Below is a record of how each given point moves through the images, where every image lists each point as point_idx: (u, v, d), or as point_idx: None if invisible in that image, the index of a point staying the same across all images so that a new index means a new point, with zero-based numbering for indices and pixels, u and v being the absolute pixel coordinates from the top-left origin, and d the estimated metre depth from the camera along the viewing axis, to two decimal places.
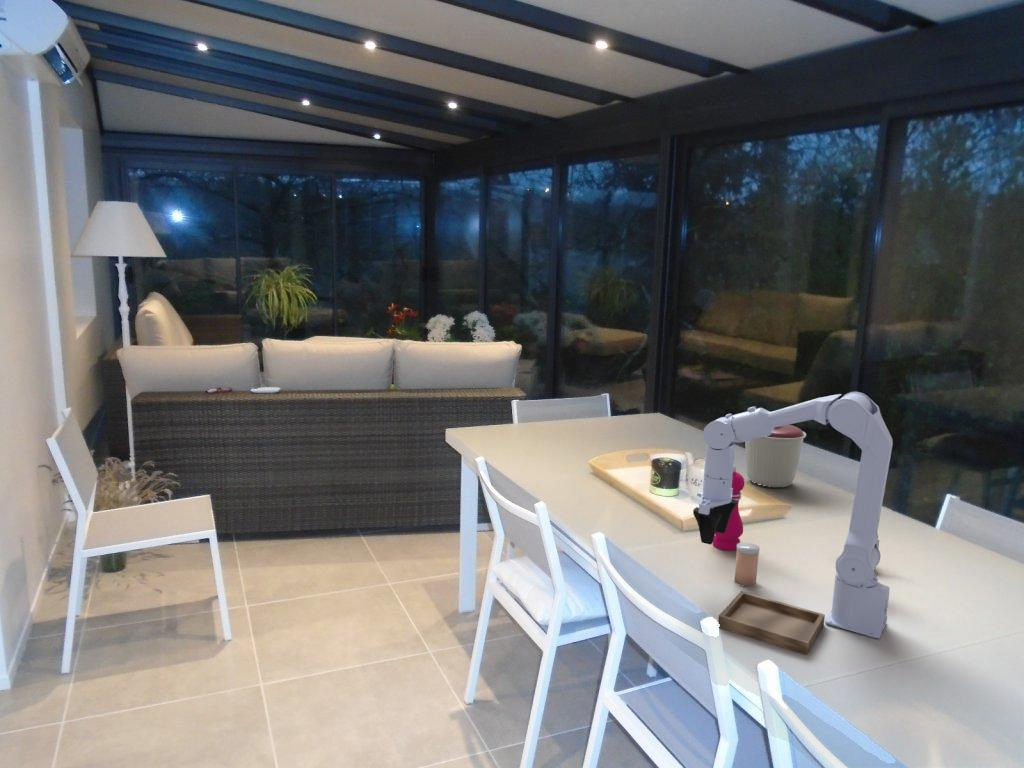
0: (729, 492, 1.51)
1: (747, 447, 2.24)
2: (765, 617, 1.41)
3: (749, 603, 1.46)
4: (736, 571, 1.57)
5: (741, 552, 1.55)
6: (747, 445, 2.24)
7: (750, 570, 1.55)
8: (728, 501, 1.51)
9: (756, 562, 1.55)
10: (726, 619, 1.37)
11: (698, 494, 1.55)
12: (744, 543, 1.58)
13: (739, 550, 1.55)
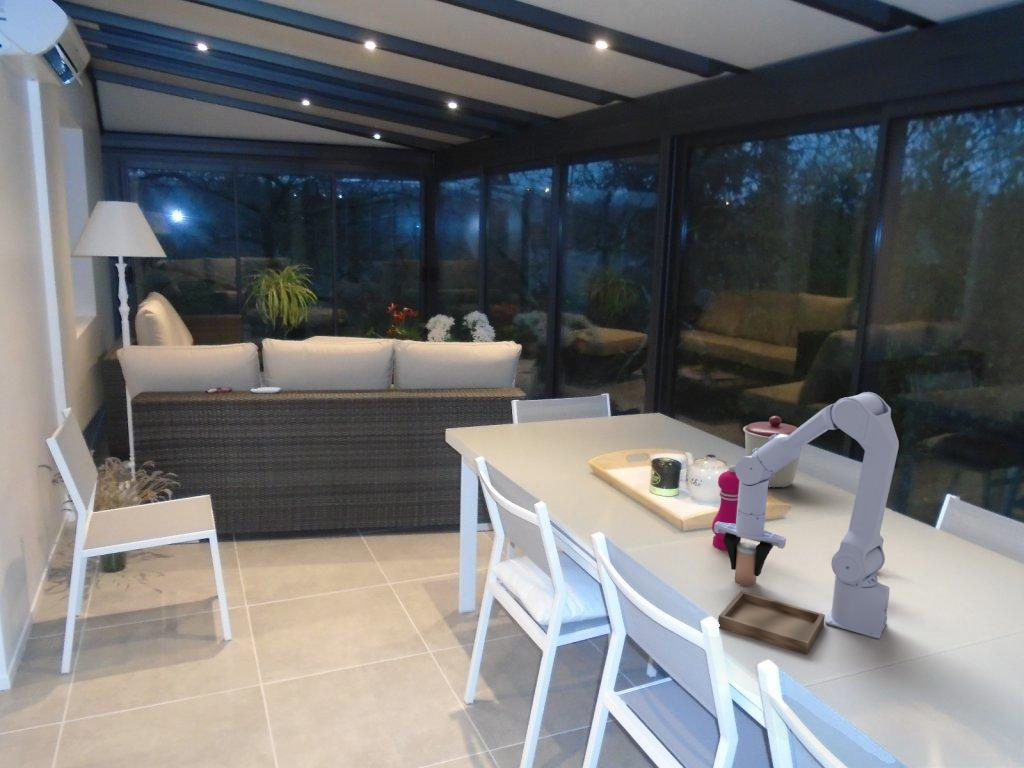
0: (743, 527, 1.53)
1: (747, 447, 2.24)
2: (765, 617, 1.41)
3: (749, 603, 1.46)
4: (736, 571, 1.57)
5: (741, 552, 1.55)
6: (747, 445, 2.24)
7: (750, 570, 1.55)
8: (740, 534, 1.54)
9: None
10: (726, 619, 1.37)
11: None
12: (744, 543, 1.58)
13: (739, 550, 1.55)
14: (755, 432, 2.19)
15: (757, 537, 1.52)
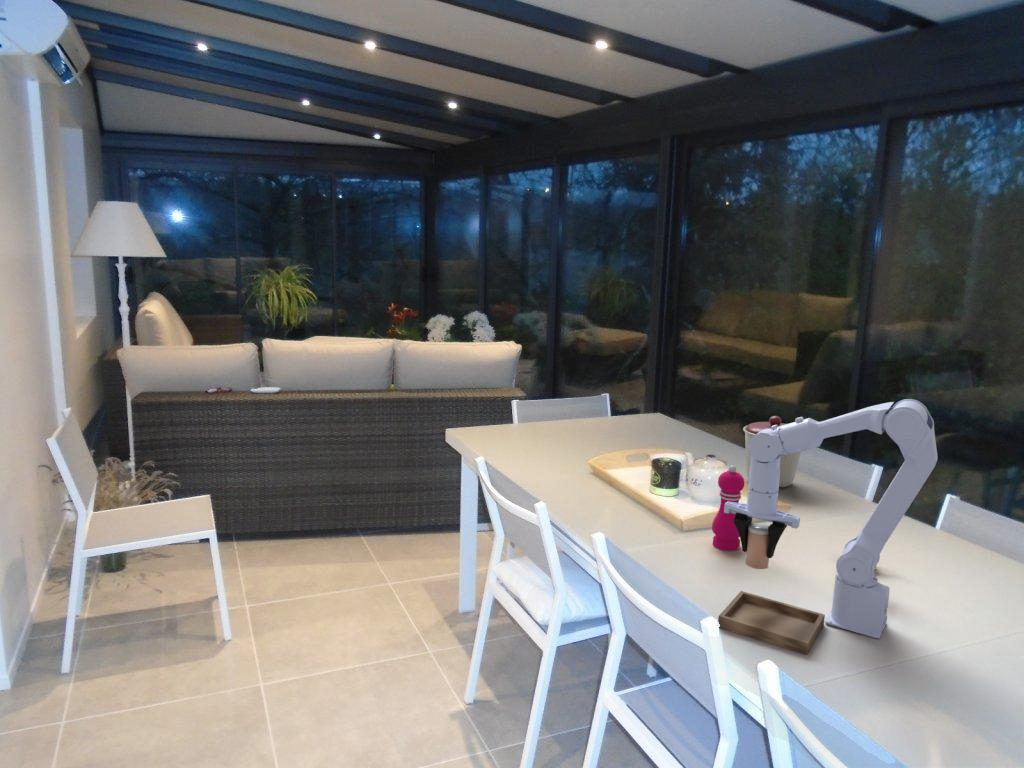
0: (755, 506, 1.45)
1: (747, 447, 2.24)
2: (765, 617, 1.41)
3: (749, 603, 1.46)
4: (747, 553, 1.49)
5: (753, 533, 1.47)
6: (747, 445, 2.24)
7: (763, 552, 1.47)
8: (751, 514, 1.46)
9: None
10: (726, 619, 1.37)
11: None
12: (755, 524, 1.50)
13: (751, 531, 1.48)
14: (755, 432, 2.19)
15: (769, 517, 1.44)
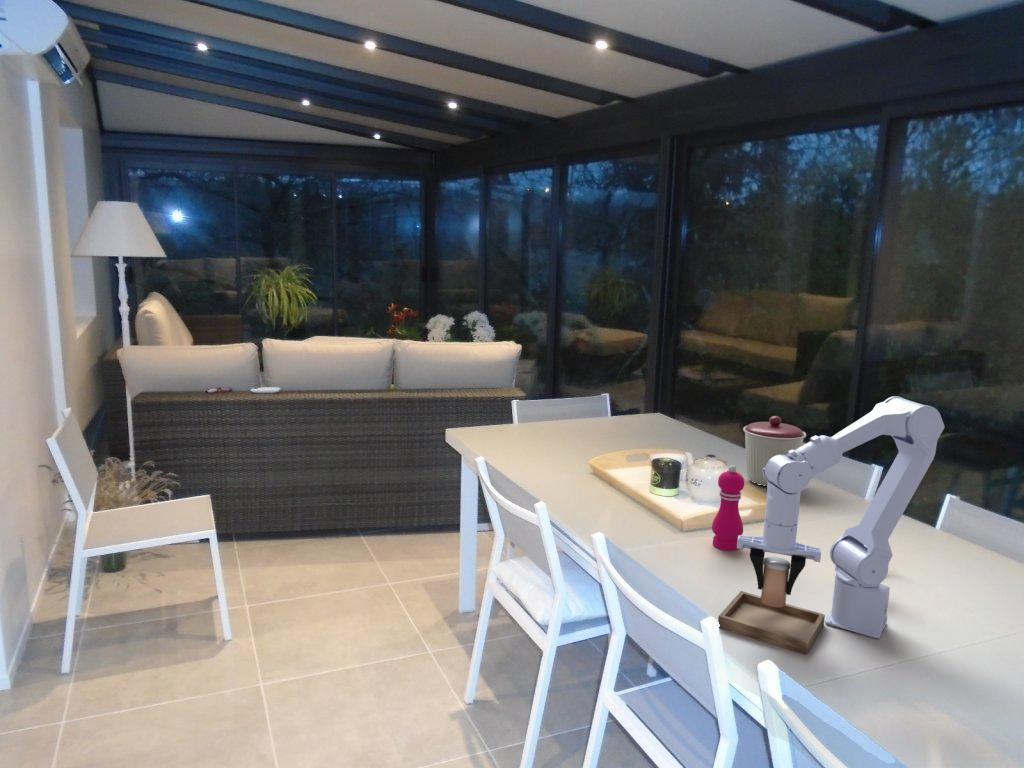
0: (776, 541, 1.33)
1: (747, 447, 2.24)
2: (765, 617, 1.41)
3: (749, 603, 1.46)
4: (765, 591, 1.37)
5: (773, 569, 1.35)
6: (747, 445, 2.24)
7: (783, 589, 1.36)
8: (772, 550, 1.34)
9: None
10: (726, 619, 1.37)
11: None
12: (770, 558, 1.38)
13: (770, 567, 1.36)
14: (755, 432, 2.19)
15: (792, 551, 1.33)
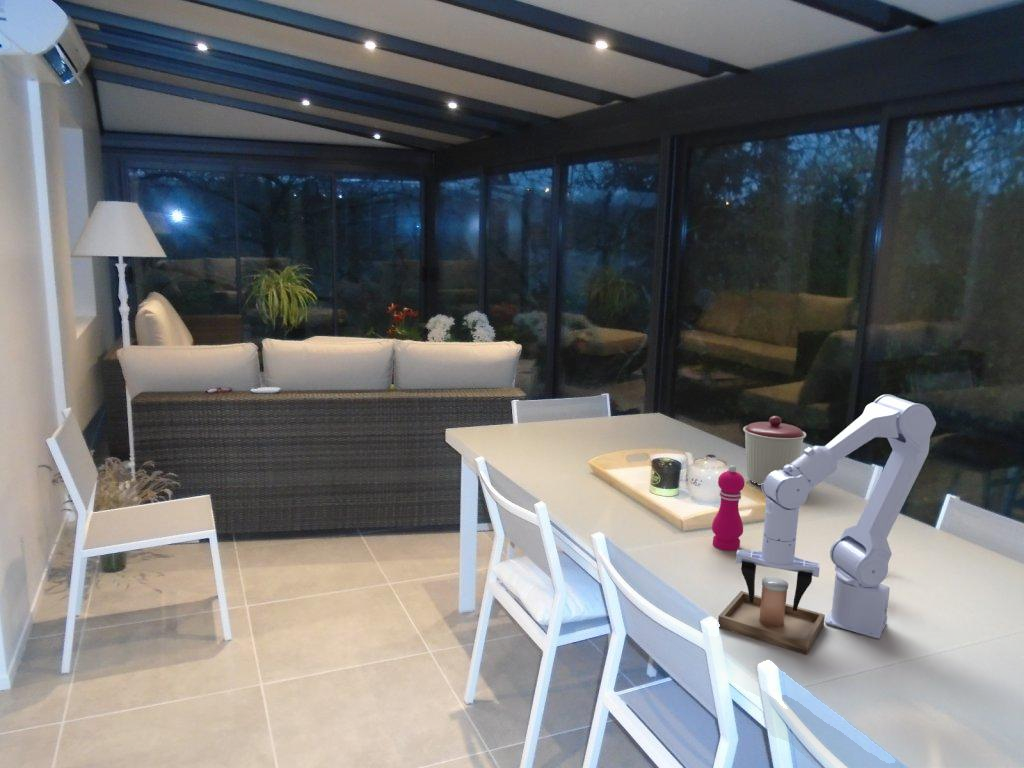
0: (774, 556, 1.34)
1: (747, 447, 2.24)
2: None
3: (749, 603, 1.46)
4: (764, 611, 1.38)
5: (771, 590, 1.36)
6: (747, 445, 2.24)
7: (781, 609, 1.36)
8: (770, 565, 1.34)
9: None
10: (726, 619, 1.37)
11: None
12: (768, 578, 1.39)
13: (768, 588, 1.36)
14: (755, 432, 2.19)
15: (790, 566, 1.34)
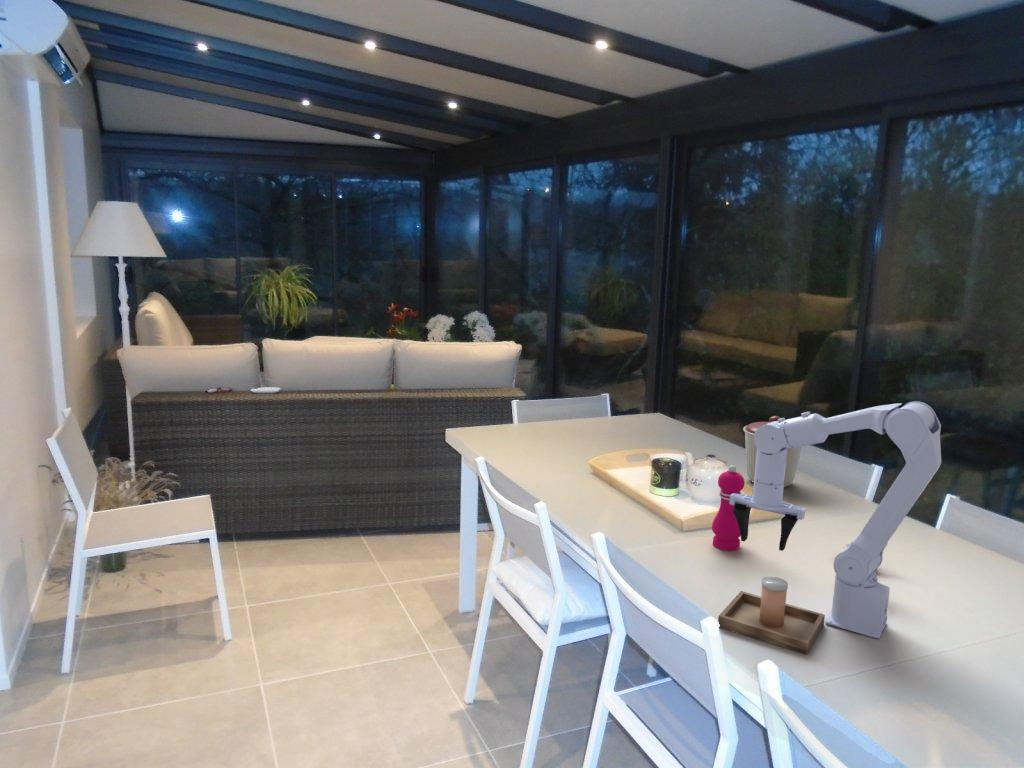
0: (761, 497, 1.47)
1: (747, 447, 2.24)
2: None
3: (749, 603, 1.46)
4: (764, 611, 1.38)
5: (771, 590, 1.36)
6: (747, 445, 2.24)
7: (781, 609, 1.36)
8: (757, 506, 1.48)
9: None
10: (726, 619, 1.37)
11: None
12: (767, 578, 1.39)
13: (768, 588, 1.36)
14: None
15: (775, 508, 1.46)
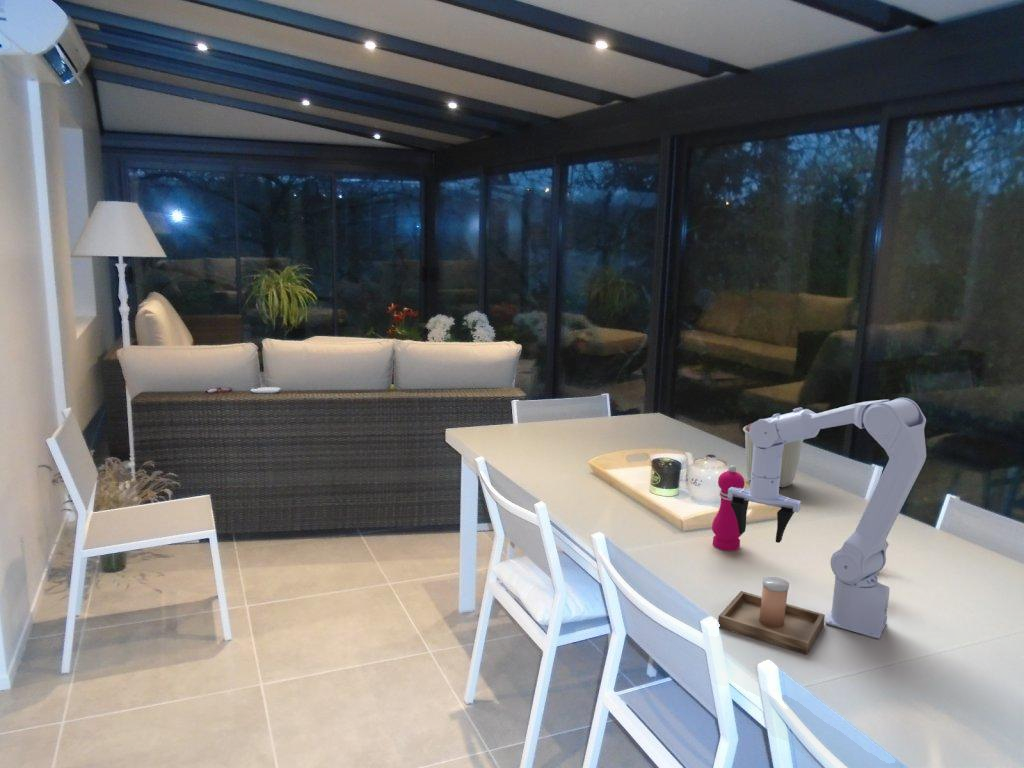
0: (758, 491, 1.51)
1: (747, 447, 2.24)
2: None
3: (749, 603, 1.46)
4: (764, 611, 1.38)
5: (772, 590, 1.36)
6: (747, 445, 2.24)
7: (782, 609, 1.36)
8: (754, 499, 1.52)
9: (786, 599, 1.37)
10: (726, 619, 1.37)
11: None
12: (769, 578, 1.39)
13: (769, 588, 1.36)
14: None
15: (772, 501, 1.50)
